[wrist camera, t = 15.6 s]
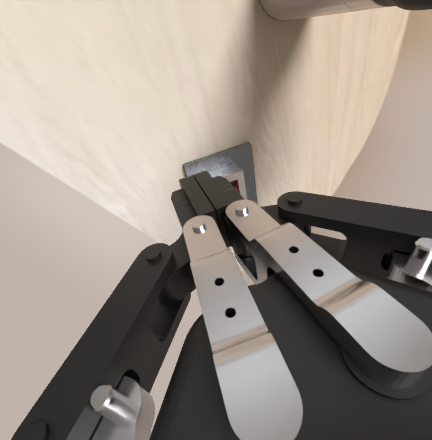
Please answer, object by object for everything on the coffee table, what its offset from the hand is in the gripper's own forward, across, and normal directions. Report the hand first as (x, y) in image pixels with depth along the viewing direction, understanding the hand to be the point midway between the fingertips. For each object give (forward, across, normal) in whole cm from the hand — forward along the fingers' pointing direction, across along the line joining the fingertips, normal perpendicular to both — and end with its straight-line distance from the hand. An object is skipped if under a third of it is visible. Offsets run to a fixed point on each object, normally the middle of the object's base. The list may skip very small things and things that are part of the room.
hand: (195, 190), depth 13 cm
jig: (+29, -9, +19) cm, 35 cm away
